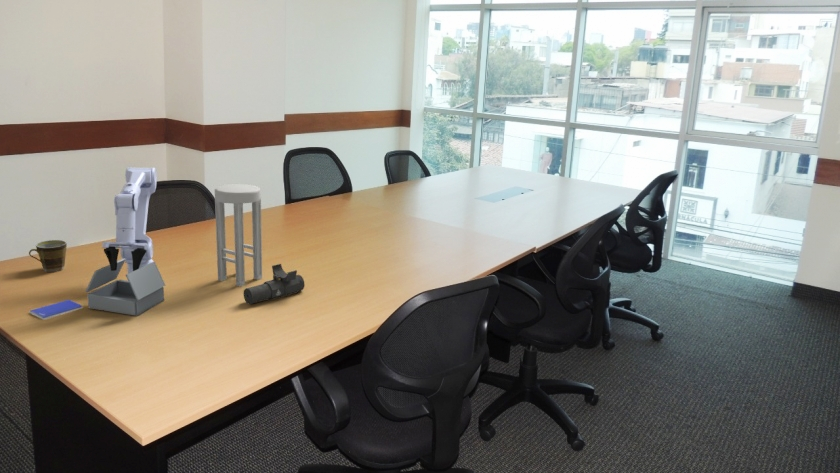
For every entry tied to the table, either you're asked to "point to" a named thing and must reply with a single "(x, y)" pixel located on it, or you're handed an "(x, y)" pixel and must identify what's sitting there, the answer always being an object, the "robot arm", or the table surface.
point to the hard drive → (55, 309)
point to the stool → (238, 230)
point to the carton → (123, 299)
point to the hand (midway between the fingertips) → (124, 270)
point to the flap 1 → (104, 276)
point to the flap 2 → (145, 280)
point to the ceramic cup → (51, 254)
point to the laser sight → (275, 286)
